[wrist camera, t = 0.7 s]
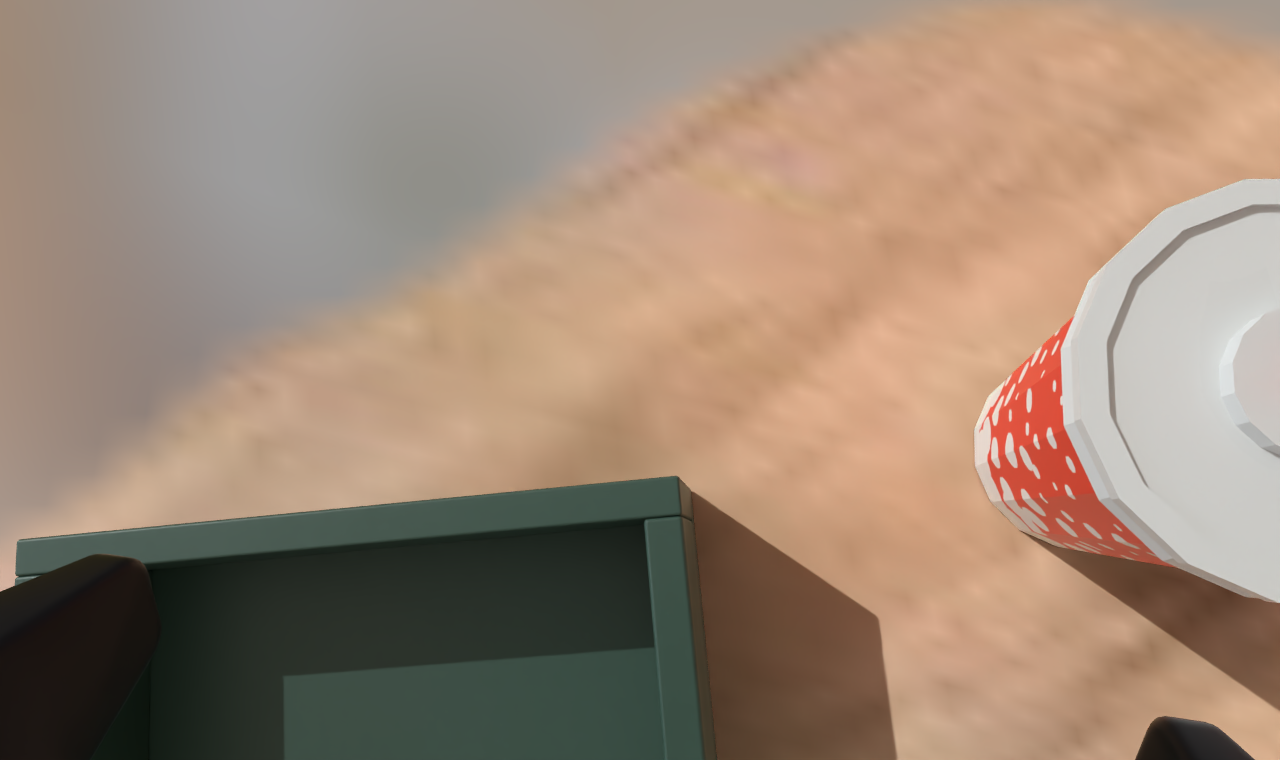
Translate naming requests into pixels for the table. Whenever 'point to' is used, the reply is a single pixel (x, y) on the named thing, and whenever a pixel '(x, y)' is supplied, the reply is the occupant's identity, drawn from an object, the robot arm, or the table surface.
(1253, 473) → the beverage cup
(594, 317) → the table surface
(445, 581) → the green square tray
